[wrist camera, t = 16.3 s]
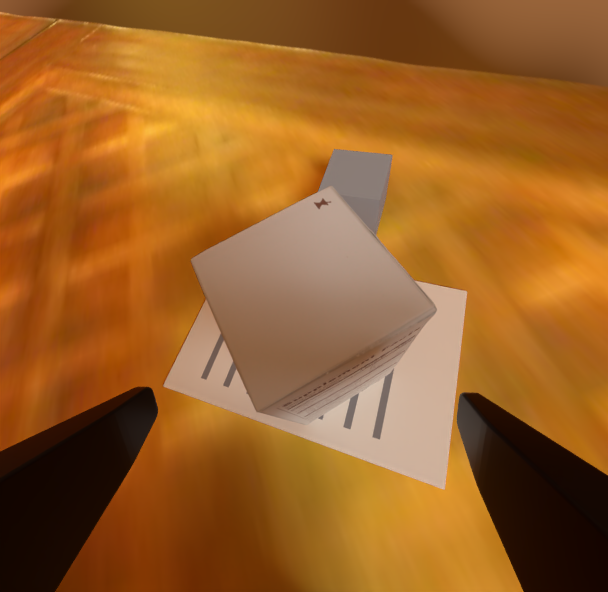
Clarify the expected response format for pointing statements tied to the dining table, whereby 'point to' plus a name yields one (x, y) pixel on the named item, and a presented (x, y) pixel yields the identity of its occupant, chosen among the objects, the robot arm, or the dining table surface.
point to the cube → (360, 182)
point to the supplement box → (311, 306)
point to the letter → (363, 406)
